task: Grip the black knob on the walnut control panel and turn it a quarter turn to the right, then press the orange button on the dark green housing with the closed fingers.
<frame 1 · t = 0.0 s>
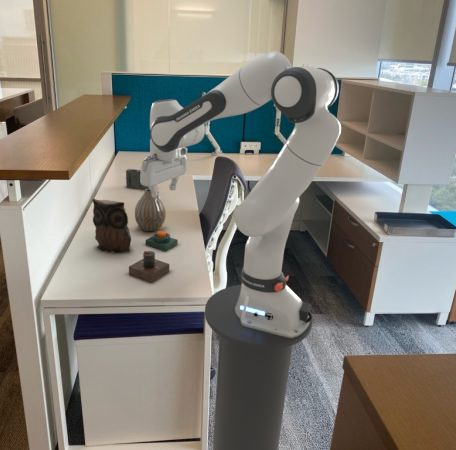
hand: (164, 193, 146), 29 cm above the table, tool pointing down, fingers open, 8 cm apart
camera: (140, 188, 245), on the table
rod knob: (149, 258, 153), point 5 cm above the table, hinge at 0.0°
knob panel: (149, 272, 156), on the table
vase: (150, 229, 192), on the table
start button: (161, 234, 176), point 4 cm above the table, slide at 0.1 cm
button box: (161, 244, 177), on the table
owl: (116, 246, 174), on the table
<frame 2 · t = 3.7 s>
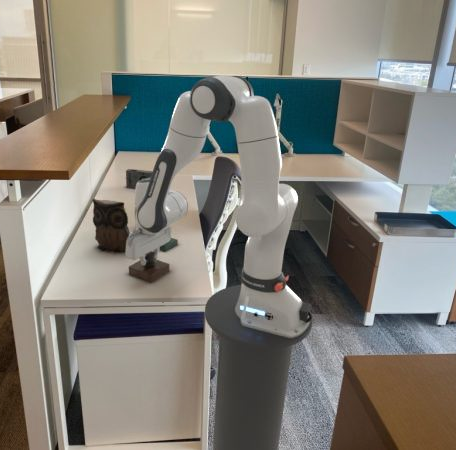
hand: (149, 261, 154), 4 cm above the table, tool pointing down, fingers closed on rod knob, 4 cm apart
rod knob: (149, 258, 153), point 5 cm above the table, hinge at -0.1°, touching gripper
everything else where it was.
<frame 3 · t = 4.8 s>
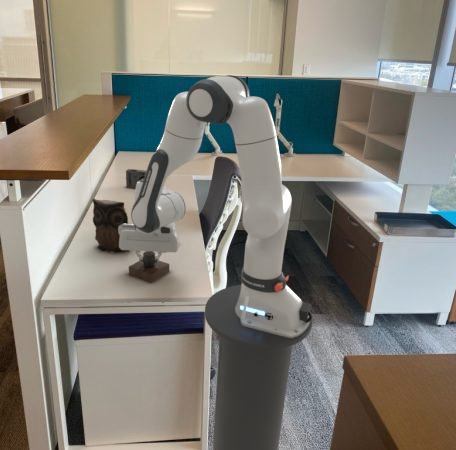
hand: (149, 261, 154), 4 cm above the table, tool pointing down, fingers closed on rod knob, 4 cm apart
rod knob: (149, 258, 153), point 5 cm above the table, hinge at -60.3°, touching gripper
everything else where it was.
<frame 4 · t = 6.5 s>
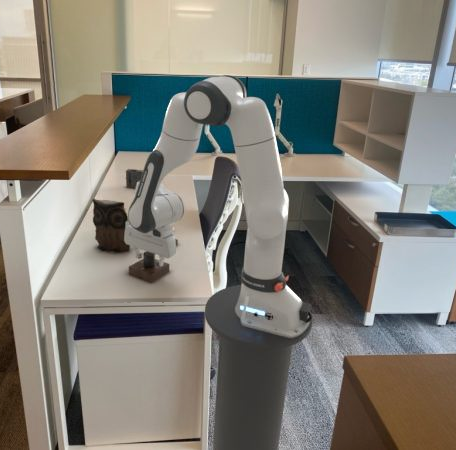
hand: (149, 261, 154), 4 cm above the table, tool pointing down, fingers open, 8 cm apart
rod knob: (149, 258, 153), point 5 cm above the table, hinge at -94.0°
everything else where it was.
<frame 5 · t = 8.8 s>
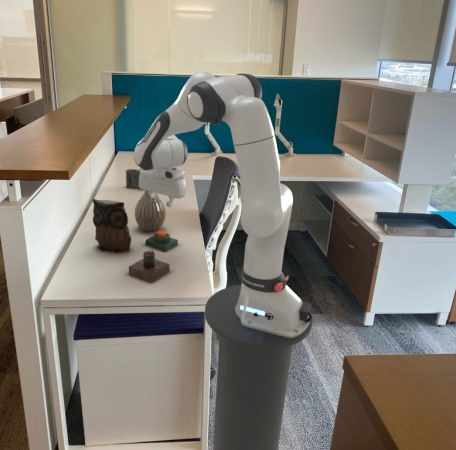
hand: (161, 204, 171), 17 cm above the table, tool pointing down, fingers open, 6 cm apart
nothing on the table moved.
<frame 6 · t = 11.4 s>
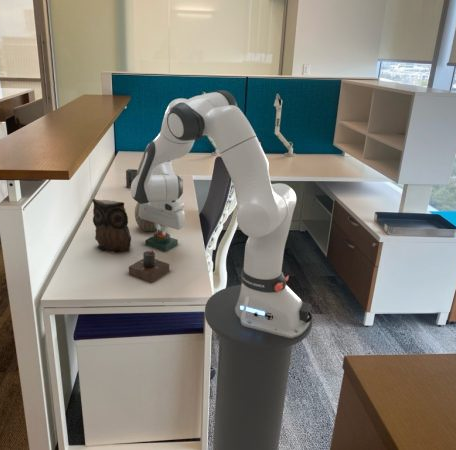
hand: (161, 233, 176), 5 cm above the table, tool pointing down, fingers closed, pressing on start button
start button: (161, 236, 176), point 4 cm above the table, slide at -0.6 cm, touching gripper
everything else where it was.
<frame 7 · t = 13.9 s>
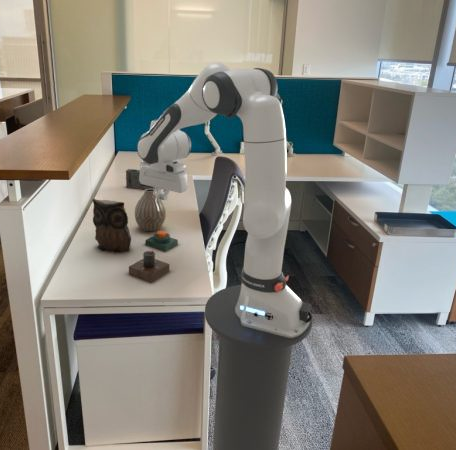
hand: (162, 199, 166), 20 cm above the table, tool pointing down, fingers closed
start button: (161, 234, 176), point 4 cm above the table, slide at 0.1 cm
everything else where it was.
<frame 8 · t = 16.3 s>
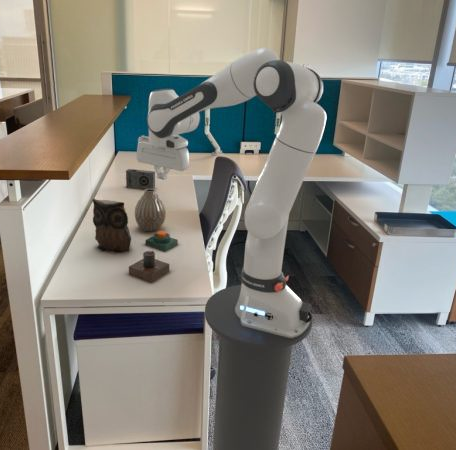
hand: (161, 178, 154), 31 cm above the table, tool pointing down, fingers closed
nothing on the table moved.
at the end: rod knob at -94° (first picture: +0°); start button pushed in 1.1 cm at the most during the clip, back to where it started at the end; start button slide at 0.1 cm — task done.
